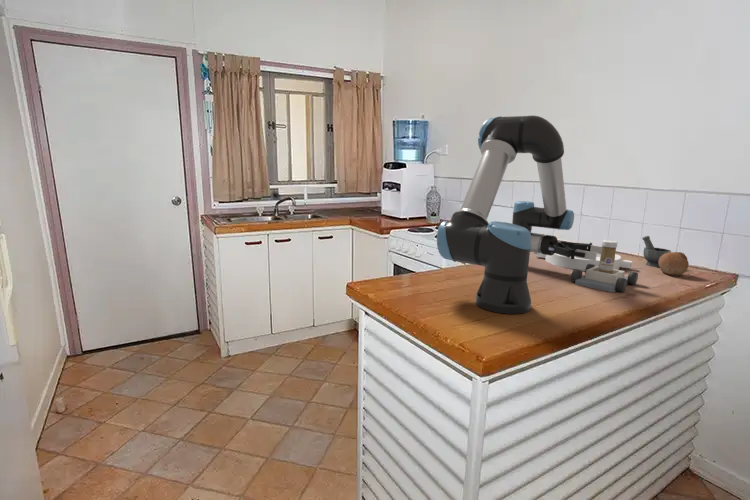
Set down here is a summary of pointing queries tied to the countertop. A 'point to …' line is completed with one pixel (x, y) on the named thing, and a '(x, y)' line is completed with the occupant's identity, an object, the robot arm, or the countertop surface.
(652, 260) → the mortar and pestle
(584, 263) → the white circle with bar
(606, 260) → the spice jar
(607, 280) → the toy chassis
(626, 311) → the countertop surface
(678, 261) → the brown round lump
